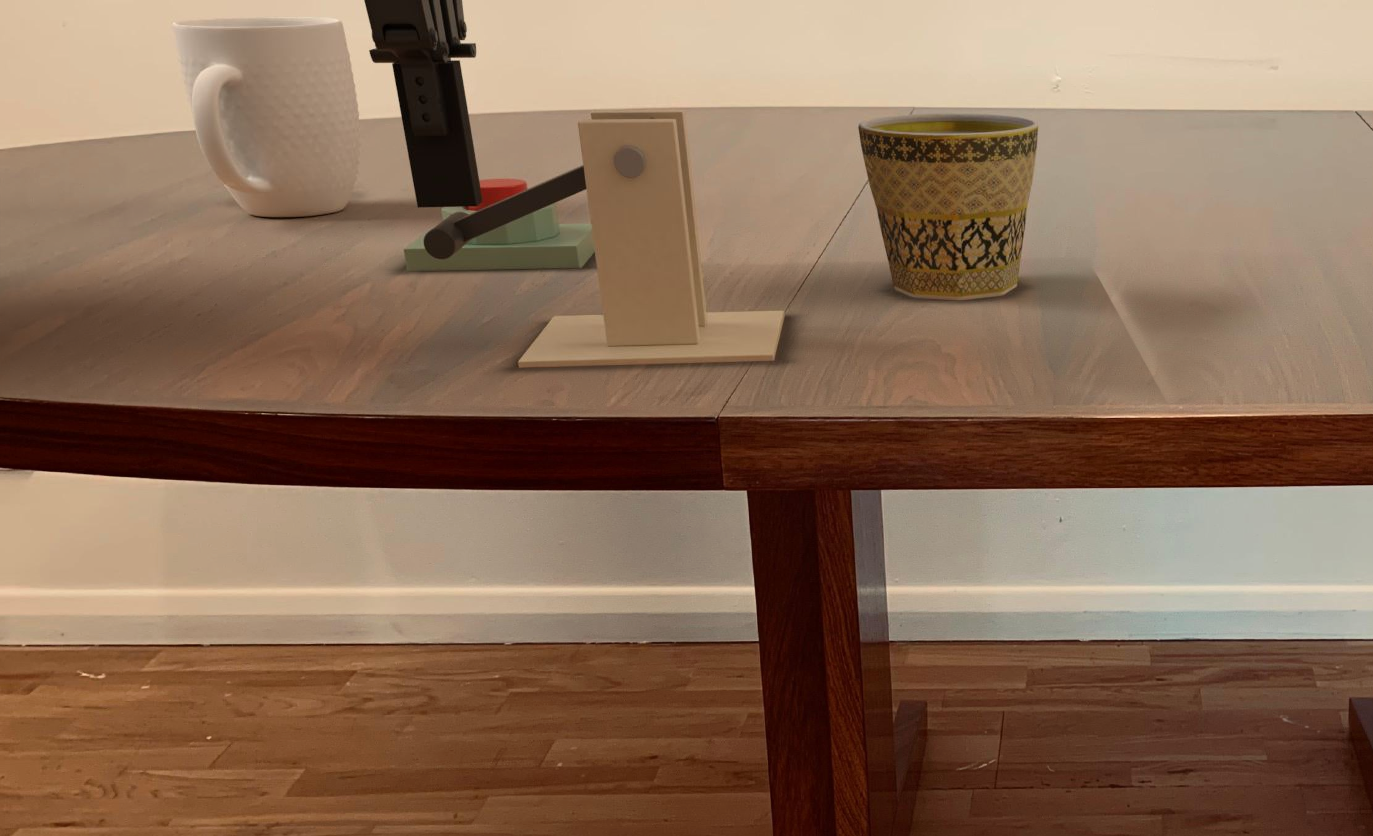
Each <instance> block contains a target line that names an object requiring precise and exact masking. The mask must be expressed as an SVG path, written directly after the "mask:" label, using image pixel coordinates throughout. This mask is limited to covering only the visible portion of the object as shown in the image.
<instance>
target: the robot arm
mask: <svg viewBox="0 0 1373 836" xmlns="http://www.w3.org/2000/svg"><path fill="white" fill-rule="evenodd" d="M363 2H364V6H365V10H366V14H367V18H368V22H369V25H370V26H369V27H370V30H371V39H372V42H373V43H374V46H375V48H372V49H369V50H368V51H369V56H370V58H371V61H372V62H373V64H391V66H392V72H393V76H394V77H393V78H394V83H395V88H396V93H397V99H398V104H399V110H400V111H399V112H400V117H401V122H402V127H403V131H404V132H403V133H404V138H405V144H406V149H407V155H408V161H409V166H410V173H411V178H412V184H413V189H414V195H415V200H416V205H417V207H416V208H418V209H419V208H443V207H471V206H477V205H479V204H480V203H481V202H483V201H482V194H481V188H480V182H479V180H480V178H479V170H478V165H477V157H476V152H475V145H474V140H473V134H472V127H471V119H470V114H469V108H468V101H467V97H466V91H465V84H464V83H465V82H464V78H463V73H462V65H461V60H460V59H476V57H477V43H476V42H475V43H474V42H473V43H471V42H470V43H469V42H468V43H467V42H464V43H463V42H462V41H466V39H467V31H468V28H467V23H466V21H465V15H464V6H463V0H364V1H363ZM452 59H455V60H452ZM457 59H459V60H457Z"/></svg>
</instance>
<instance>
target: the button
mask: <svg viewBox="0 0 1373 836" xmlns="http://www.w3.org/2000/svg"><path fill="white" fill-rule="evenodd" d="M479 182H480V188H481V194H482V201H483V202H481V203H480V204H479V205H477V206H471V207H468V210H471V211H478V210H481V209H483V208H485V207H487V206H490V205H492V204H494V203H497V202H499V201H501V200H504V199H506V198H508V197H510V196H513V195H515V194H517V193H520V192H522V191H524V190H527V189H529V187H528V183H527V181H526V180H523V179H518V178H488V179H479Z"/></svg>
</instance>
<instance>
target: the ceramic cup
mask: <svg viewBox="0 0 1373 836" xmlns="http://www.w3.org/2000/svg"><path fill="white" fill-rule="evenodd" d="M1038 132H1039V124H1038V123H1037V122H1036V121H1034V120H1032V119H1028V118H1024V117H1020V116H1019V117H1018V116H1011V115H1002V114H990V113H989V114H988V113H956V112H955V113H951V112H950V113H947V112H945V113H916V114H915V113H914V114H899V115H890V116H883V117H882V116H881V117H876V118H871V119H867V120H864V121H862V122H860V123H859V124H858V135H859V141H860V147H861V153H862V158H863V162H864V167H865V172H866V175H867V181H868V184H869V188H870V192H871V195H872V198H873V201H874V205H875V209H876V214H877V218H878V224H879V228H880V232H881V236H882V241H883V245H884V249H885V255H886V257H887V261H888V266H889V271H890V276H891V281H892V284H893V288H894V290H895V291H897V292H900V293H902V294H904V295H907V296H909V297H911V298H914V299H927V300H929V299H930V300H945V301H946V300H947V301H964V300H965V301H967V300H973V299H982V298H991V297H999V296H1004V295H1005V294H1007V293H1009V292H1010V291H1012V290H1014V289H1015V288H1017V287H1018V281H1019V277H1020V276H1019V274H1020V265H1021V258H1022V251H1023V246H1024V245H1023V244H1024V238H1025V230H1026V222H1027V221H1026V220H1027V212H1028V204H1029V201H1030V200H1029V199H1030V195H1031V191H1032V186H1033V182H1034V181H1033V180H1034V172H1035V166H1036V156H1037V149H1038V134H1039V133H1038Z"/></svg>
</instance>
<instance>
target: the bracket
mask: <svg viewBox="0 0 1373 836" xmlns="http://www.w3.org/2000/svg"><path fill="white" fill-rule="evenodd" d="M652 117H654V118H655V119H649V118H652ZM577 127H578V129H577V130H578V135H579V143H580V150H581V151H580V152H581V156H582V157H581V158H582V159H581V160H582V165H583V166H584V174H585V181H586V195H587V196H586V197H587V204H588V210H589V219H590V223H591V227H592V234H593V242H594V249H595V252H594V255H595V263H596V271H597V278H598V285H599V293H600V294H599V295H600V300H601V308H602V314H583V315H581V314H580V315H576V314H575V315H554V316H552V318H551V319H550V320H549V322H548V323H547V324H546V325H545V327H544V328H543V329H542V330H541V332H540V333H539V335H537V337H536V338H535V340H534V341H533V342H532V343H531V345H530V346H529V347H528V348H527V350H526V351H525V352H524V353H523V355H522V356H521V357H520V358H519V360H518V361H517V363H518V368H520V369H521V368H554V367H555V368H557V367H558V368H559V367H592V366H593V367H594V366H595V367H596V366H627V365H628V366H631V365H632V366H633V365H664V364H665V365H666V364H670V365H671V364H697V363H699V364H701V363H703V364H704V363H734V362H735V363H737V362H738V363H740V362H741V363H742V362H743V363H744V362H772V361H773V362H774V361H775V358H776V354H777V350H778V345H779V342H780V337H781V332H782V329H783V325H784V321H785V317H786V316H785V315H786V314H785V310H751V311H712V312H711V311H707V303H706V295H705V285H704V275H703V267H702V257H701V248H700V247H701V246H700V239H699V238H700V237H699V230H698V221H697V220H698V219H697V211H696V202H695V192H694V183H693V174H692V173H693V172H692V163H691V154H690V145H689V135H688V127H687V118H686V110H685V109H682V108H681V109H680V108H679V109H594V110H592V111H591V112H590V119H580V120H579V121H577Z"/></svg>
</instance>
